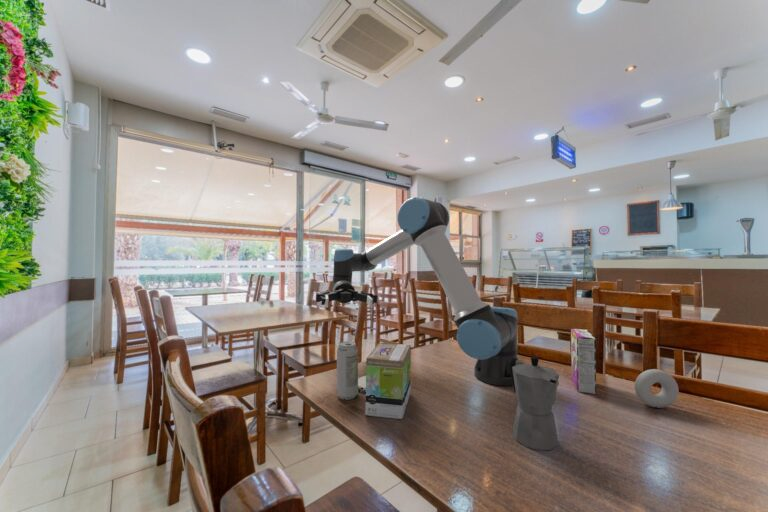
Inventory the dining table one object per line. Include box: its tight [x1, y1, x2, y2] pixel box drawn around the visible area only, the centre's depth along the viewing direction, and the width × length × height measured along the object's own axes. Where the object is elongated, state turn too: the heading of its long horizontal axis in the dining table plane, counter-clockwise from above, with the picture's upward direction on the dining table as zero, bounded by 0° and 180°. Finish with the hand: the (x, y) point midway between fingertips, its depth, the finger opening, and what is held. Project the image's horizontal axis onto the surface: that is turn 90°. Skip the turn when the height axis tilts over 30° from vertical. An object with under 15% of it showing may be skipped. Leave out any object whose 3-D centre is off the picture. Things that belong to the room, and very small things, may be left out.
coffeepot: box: [509, 356, 560, 451], centre depth 72 cm, size 15×9×18 cm, turn 13°
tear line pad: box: [358, 374, 366, 394], centre depth 101 cm, size 10×12×1 cm
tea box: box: [364, 342, 412, 420], centre depth 87 cm, size 15×10×15 cm, turn 168°
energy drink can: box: [336, 341, 359, 401], centre depth 93 cm, size 6×6×15 cm
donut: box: [634, 368, 680, 409], centre depth 85 cm, size 10×4×10 cm, turn 83°
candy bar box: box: [570, 328, 597, 395], centre depth 99 cm, size 11×5×16 cm, turn 158°
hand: (349, 303), depth 99 cm, fingers open, 13 cm apart
